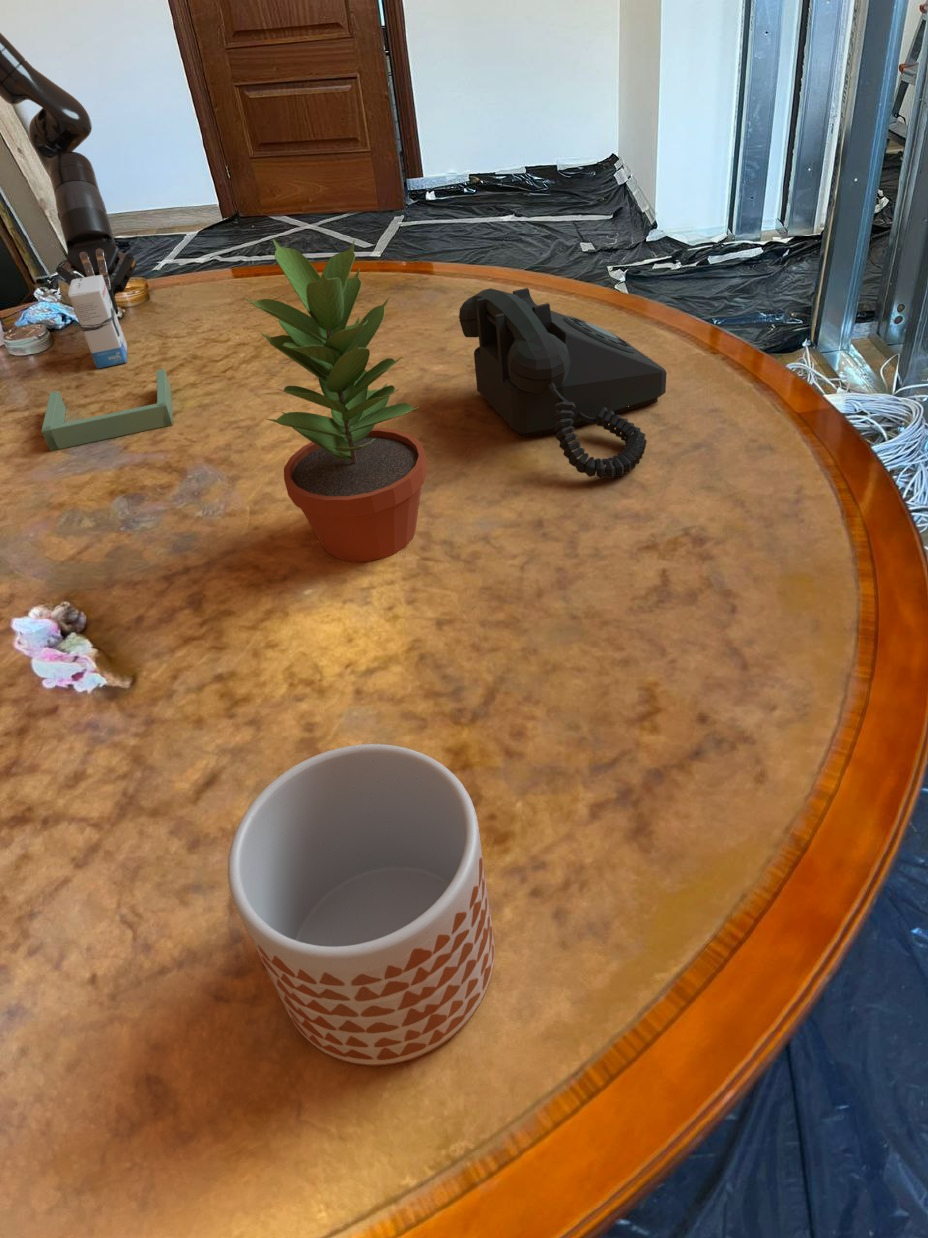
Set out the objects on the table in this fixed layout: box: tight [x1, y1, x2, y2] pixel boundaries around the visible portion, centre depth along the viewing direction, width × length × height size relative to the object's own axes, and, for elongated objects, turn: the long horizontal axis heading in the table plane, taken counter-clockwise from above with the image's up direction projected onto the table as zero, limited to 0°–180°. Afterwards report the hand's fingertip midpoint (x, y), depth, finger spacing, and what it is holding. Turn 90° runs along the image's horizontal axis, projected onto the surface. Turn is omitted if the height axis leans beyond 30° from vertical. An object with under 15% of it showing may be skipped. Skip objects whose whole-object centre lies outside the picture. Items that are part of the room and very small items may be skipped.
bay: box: [40, 368, 174, 452], centre depth 120 cm, size 13×16×3 cm
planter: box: [227, 743, 496, 1067], centre depth 50 cm, size 14×14×13 cm
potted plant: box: [243, 237, 429, 563], centre depth 82 cm, size 15×15×30 cm
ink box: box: [67, 275, 128, 370], centre depth 136 cm, size 8×5×12 cm, turn 16°
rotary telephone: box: [458, 287, 667, 479], centre depth 103 cm, size 33×22×15 cm, turn 20°
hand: (110, 316), depth 140 cm, fingers closed
